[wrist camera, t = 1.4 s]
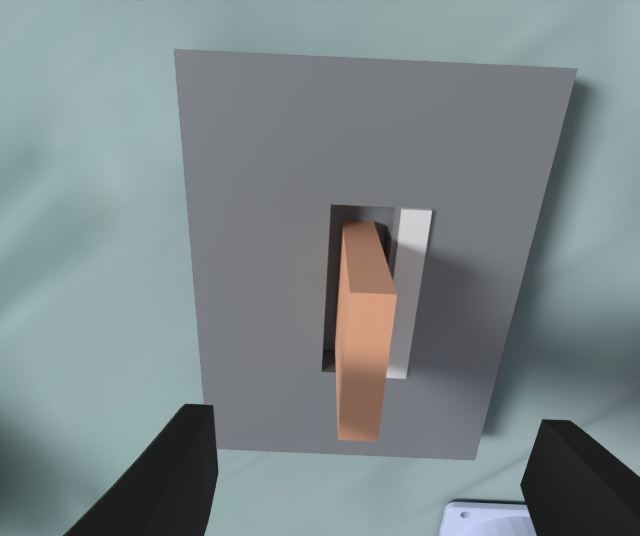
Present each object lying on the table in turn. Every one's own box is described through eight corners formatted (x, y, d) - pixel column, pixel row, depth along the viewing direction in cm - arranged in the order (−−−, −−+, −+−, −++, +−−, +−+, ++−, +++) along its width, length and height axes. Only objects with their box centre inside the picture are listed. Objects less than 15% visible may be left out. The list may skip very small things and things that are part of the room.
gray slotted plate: (546, 69, 15) (581, 68, 13) (462, 427, 21) (476, 464, 19) (192, 52, 15) (171, 48, 13) (218, 416, 21) (206, 452, 19)
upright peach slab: (373, 221, 16) (397, 294, 11) (362, 332, 18) (377, 441, 13) (342, 219, 16) (349, 292, 11) (334, 331, 18) (337, 439, 13)
